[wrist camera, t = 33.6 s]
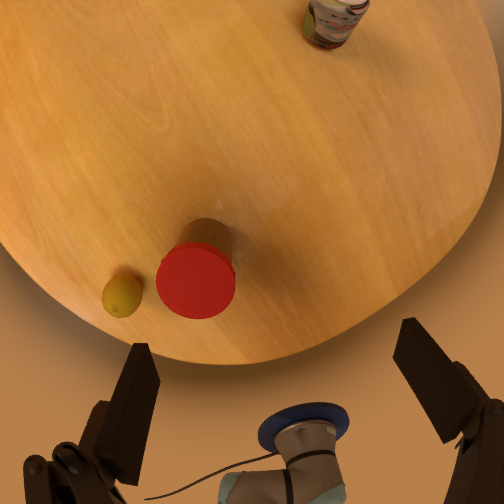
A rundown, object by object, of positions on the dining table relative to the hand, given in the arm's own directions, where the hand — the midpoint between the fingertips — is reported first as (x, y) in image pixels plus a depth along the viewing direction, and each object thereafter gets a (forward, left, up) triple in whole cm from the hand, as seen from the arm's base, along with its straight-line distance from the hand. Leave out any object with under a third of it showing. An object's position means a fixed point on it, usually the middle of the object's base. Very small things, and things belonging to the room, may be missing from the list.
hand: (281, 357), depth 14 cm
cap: (-6, +4, -15) cm, 16 cm away
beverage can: (+28, +4, -27) cm, 39 cm away
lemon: (-17, +12, -27) cm, 34 cm away
